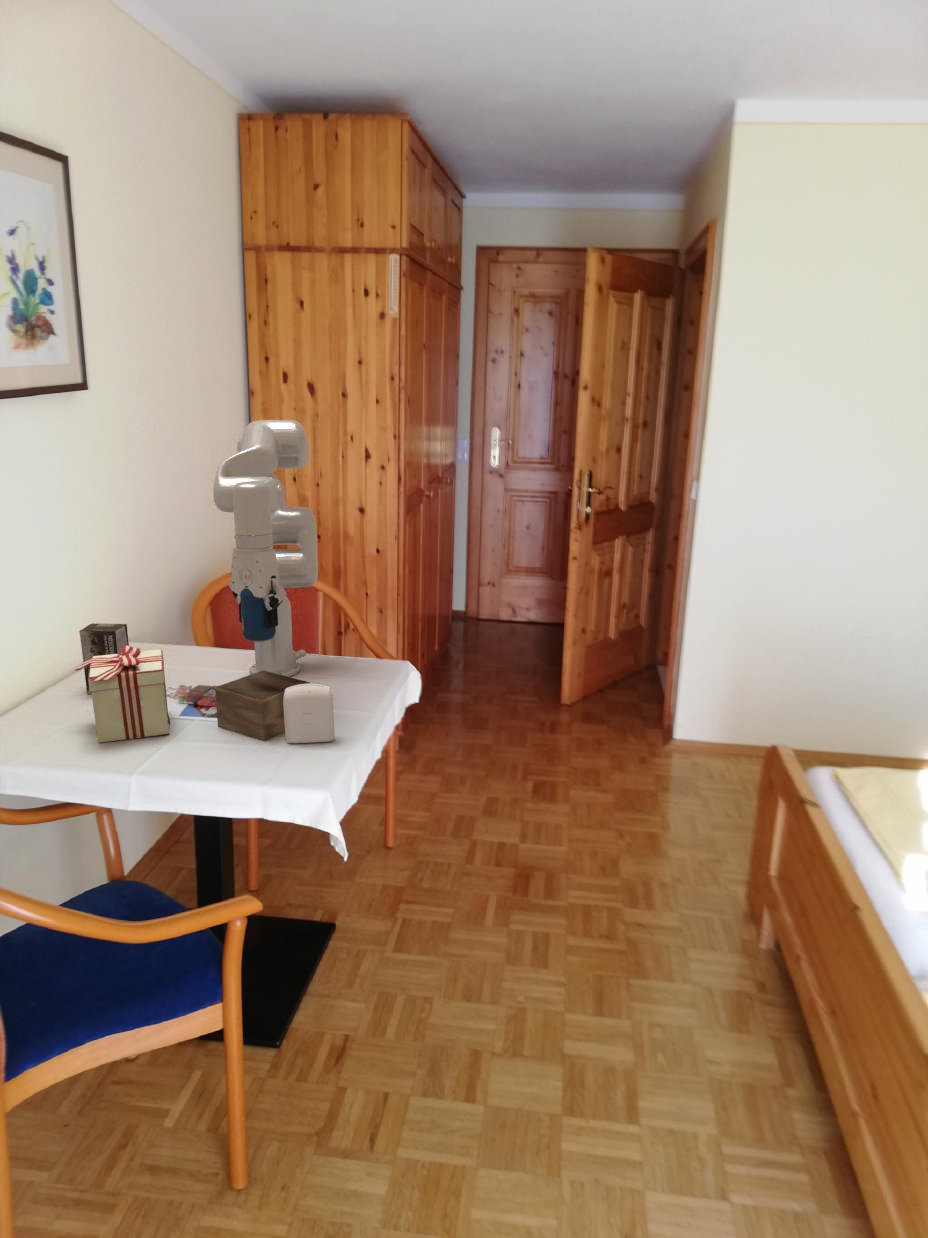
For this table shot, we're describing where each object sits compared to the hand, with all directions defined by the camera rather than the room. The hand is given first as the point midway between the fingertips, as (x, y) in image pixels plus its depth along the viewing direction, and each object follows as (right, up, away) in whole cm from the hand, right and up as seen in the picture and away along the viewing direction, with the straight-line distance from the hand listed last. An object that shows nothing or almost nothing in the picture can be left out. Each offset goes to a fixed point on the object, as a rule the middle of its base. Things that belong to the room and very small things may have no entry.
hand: (258, 623), depth 198 cm
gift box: (-29, -23, +3) cm, 37 cm away
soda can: (0, -3, +1) cm, 3 cm away
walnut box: (0, -22, +6) cm, 23 cm away
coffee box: (-41, -17, +26) cm, 52 cm away
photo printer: (+11, -25, -3) cm, 27 cm away
